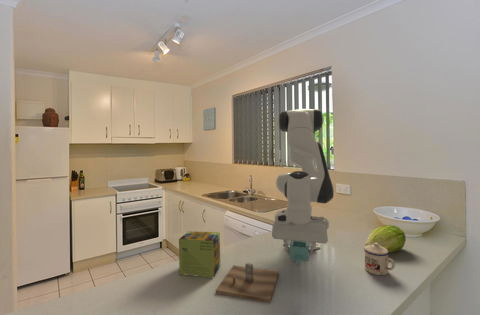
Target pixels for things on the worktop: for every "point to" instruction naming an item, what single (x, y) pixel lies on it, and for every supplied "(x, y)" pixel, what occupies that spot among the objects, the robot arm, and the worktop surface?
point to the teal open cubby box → (299, 251)
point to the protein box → (199, 253)
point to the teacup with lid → (377, 259)
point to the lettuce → (387, 238)
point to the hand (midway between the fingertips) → (299, 251)
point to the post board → (249, 283)
